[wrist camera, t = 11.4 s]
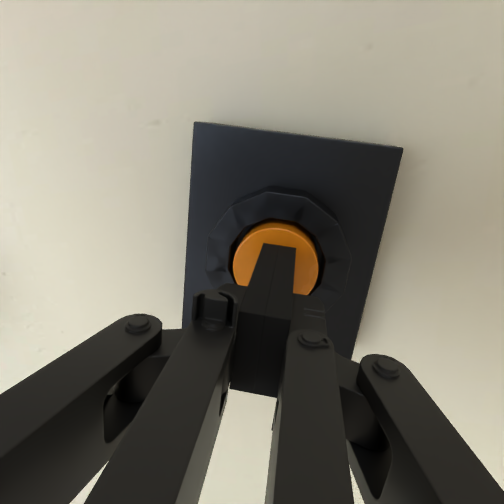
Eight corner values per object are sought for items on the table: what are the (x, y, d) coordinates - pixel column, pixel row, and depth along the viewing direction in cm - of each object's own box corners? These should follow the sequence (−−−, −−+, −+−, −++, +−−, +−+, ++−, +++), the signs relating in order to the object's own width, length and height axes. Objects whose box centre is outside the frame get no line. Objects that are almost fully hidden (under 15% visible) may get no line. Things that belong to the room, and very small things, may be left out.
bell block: (204, 121, 20) (181, 120, 16) (393, 145, 19) (415, 149, 15) (191, 316, 24) (170, 351, 20) (346, 343, 23) (354, 385, 19)
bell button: (244, 212, 18) (237, 221, 16) (323, 223, 18) (325, 235, 16) (236, 283, 20) (228, 300, 18) (309, 295, 19) (310, 314, 17)
